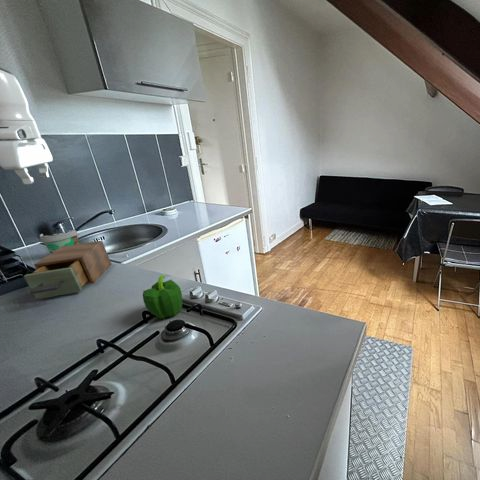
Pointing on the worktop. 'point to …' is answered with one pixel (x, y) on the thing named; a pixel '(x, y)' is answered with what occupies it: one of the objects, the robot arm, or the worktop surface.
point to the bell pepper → (163, 298)
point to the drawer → (57, 279)
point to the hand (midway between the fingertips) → (37, 180)
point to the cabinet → (81, 258)
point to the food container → (59, 240)
